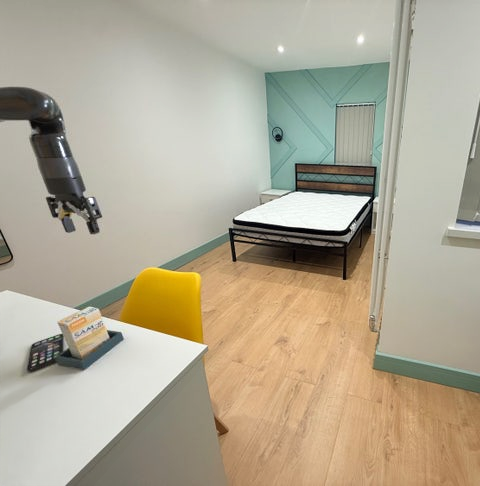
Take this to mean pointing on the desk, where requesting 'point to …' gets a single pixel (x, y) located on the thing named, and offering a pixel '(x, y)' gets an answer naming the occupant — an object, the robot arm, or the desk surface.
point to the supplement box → (84, 332)
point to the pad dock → (70, 361)
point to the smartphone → (45, 352)
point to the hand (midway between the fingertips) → (83, 232)
